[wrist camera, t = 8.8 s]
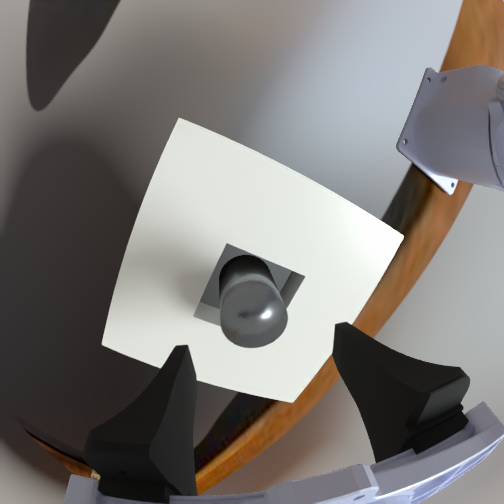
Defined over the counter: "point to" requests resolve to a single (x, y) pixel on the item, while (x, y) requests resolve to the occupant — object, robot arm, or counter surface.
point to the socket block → (253, 241)
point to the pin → (250, 303)
